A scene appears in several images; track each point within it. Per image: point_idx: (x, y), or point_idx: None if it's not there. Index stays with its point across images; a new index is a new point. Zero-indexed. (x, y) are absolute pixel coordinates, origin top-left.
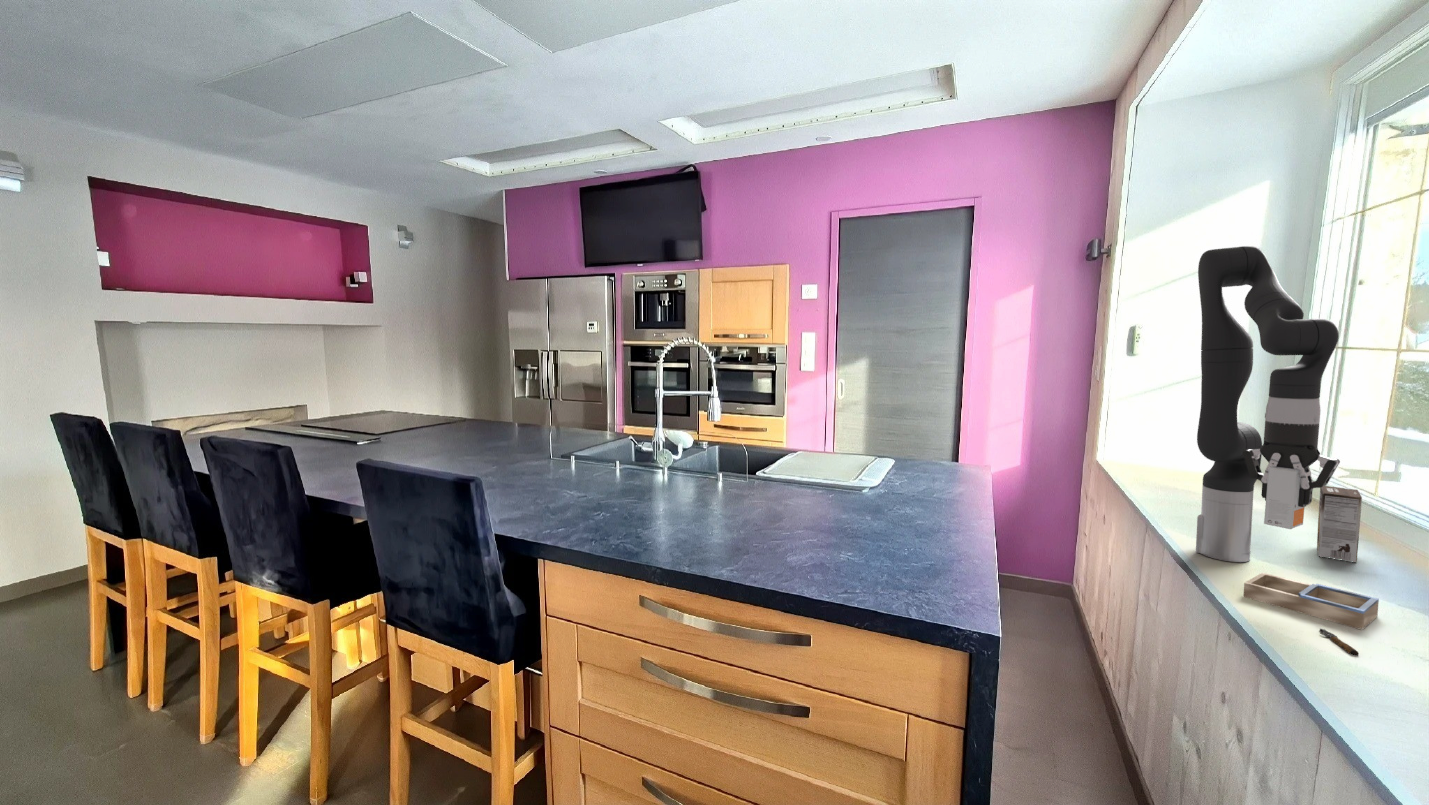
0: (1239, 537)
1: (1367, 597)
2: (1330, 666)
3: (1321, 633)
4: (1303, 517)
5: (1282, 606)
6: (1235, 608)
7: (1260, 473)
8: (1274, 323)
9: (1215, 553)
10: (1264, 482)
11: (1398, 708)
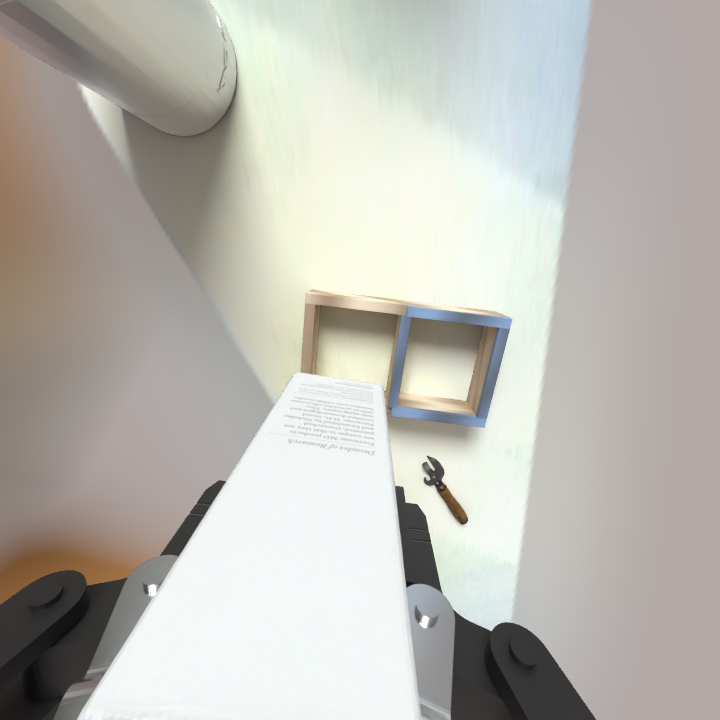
0: (178, 74)
1: (493, 326)
2: (440, 571)
3: (425, 480)
4: (384, 401)
5: None
6: None
7: (70, 672)
8: None
9: (166, 129)
10: None
11: (497, 622)
